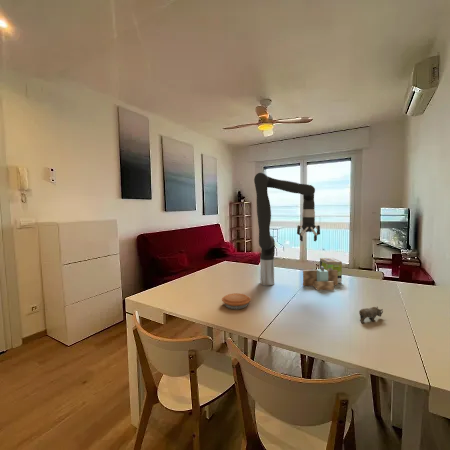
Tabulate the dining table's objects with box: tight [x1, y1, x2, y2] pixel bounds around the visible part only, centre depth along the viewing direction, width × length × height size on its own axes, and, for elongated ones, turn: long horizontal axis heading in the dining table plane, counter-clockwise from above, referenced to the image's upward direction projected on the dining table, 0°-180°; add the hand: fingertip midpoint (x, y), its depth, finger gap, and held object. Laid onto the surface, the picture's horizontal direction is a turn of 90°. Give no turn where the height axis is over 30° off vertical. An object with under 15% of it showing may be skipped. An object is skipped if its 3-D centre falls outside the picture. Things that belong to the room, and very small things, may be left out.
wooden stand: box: [302, 269, 339, 291], centre depth 162 cm, size 22×10×10 cm, turn 88°
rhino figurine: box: [359, 306, 384, 324], centre depth 113 cm, size 4×14×6 cm, turn 108°
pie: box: [221, 292, 252, 310], centre depth 135 cm, size 15×16×5 cm
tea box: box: [319, 257, 343, 284], centre depth 177 cm, size 15×10×15 cm, turn 179°
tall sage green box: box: [316, 266, 328, 282], centre depth 161 cm, size 5×6×10 cm
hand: (308, 241), depth 164 cm, fingers open, 8 cm apart
